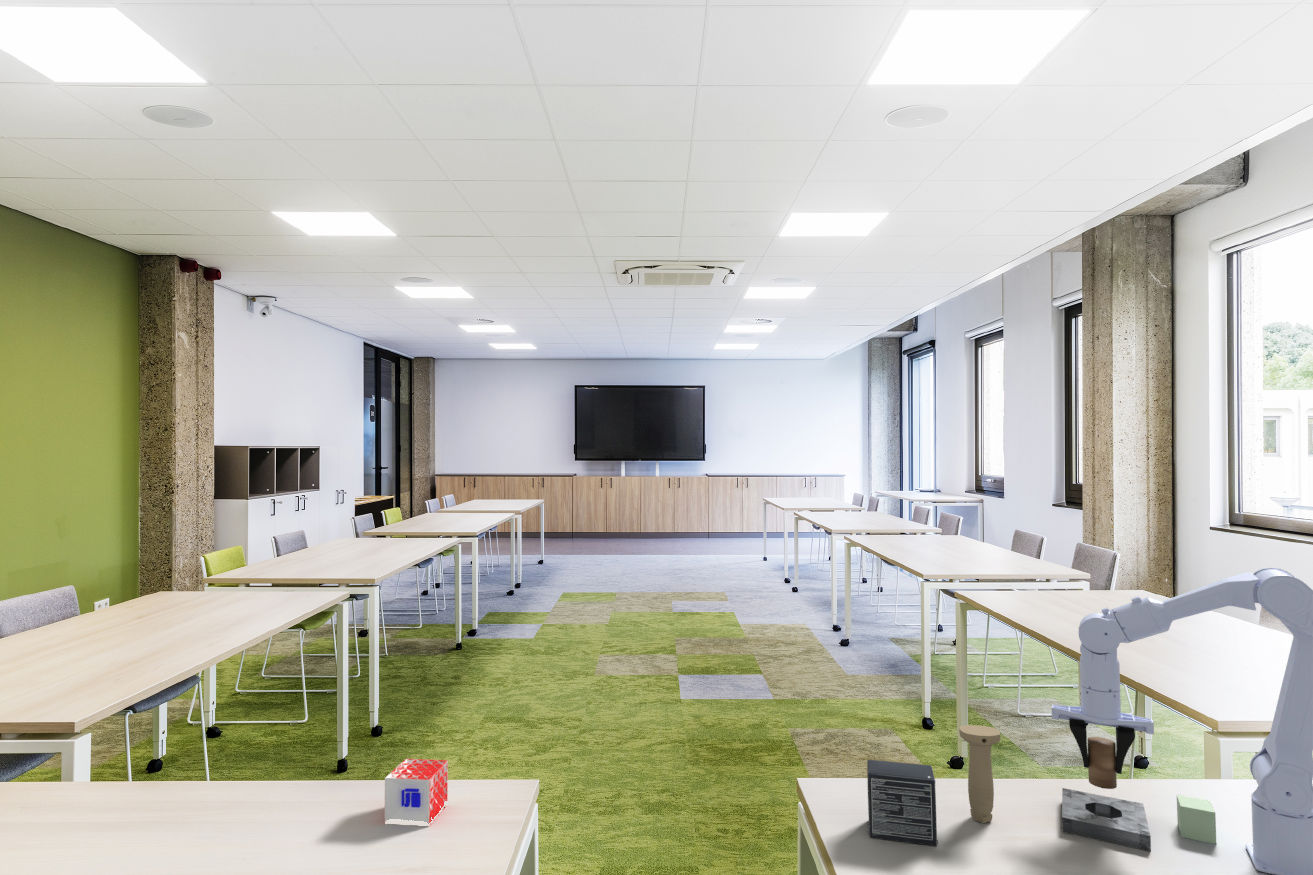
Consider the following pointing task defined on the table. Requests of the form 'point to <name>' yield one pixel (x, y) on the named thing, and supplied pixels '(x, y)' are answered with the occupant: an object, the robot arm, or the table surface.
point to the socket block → (1105, 819)
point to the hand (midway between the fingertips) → (1102, 768)
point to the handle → (980, 769)
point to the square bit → (1196, 819)
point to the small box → (902, 802)
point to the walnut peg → (1102, 762)
